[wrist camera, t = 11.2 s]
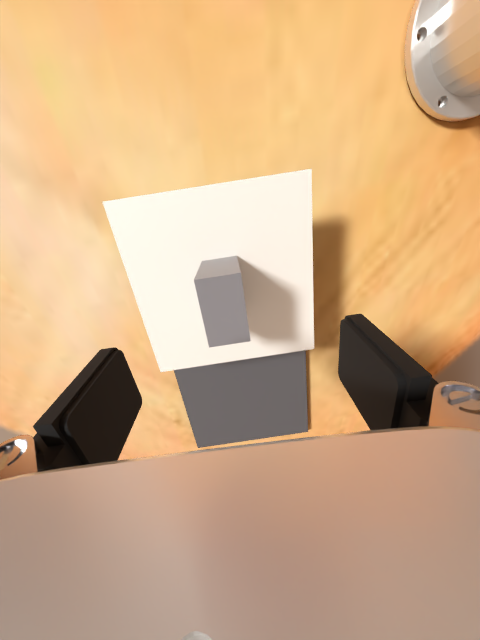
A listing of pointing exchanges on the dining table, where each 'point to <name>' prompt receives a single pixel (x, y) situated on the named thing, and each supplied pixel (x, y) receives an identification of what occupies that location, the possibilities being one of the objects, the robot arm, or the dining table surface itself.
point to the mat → (246, 398)
